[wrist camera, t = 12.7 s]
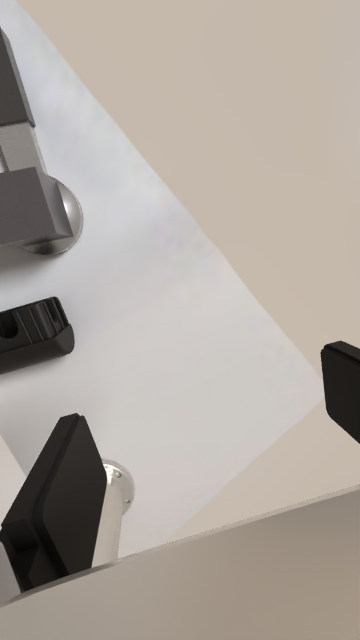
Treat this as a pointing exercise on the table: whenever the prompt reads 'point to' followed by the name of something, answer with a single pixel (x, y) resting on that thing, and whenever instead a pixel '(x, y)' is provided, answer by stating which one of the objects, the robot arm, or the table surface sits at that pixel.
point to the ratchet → (28, 144)
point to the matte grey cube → (31, 209)
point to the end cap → (34, 334)
